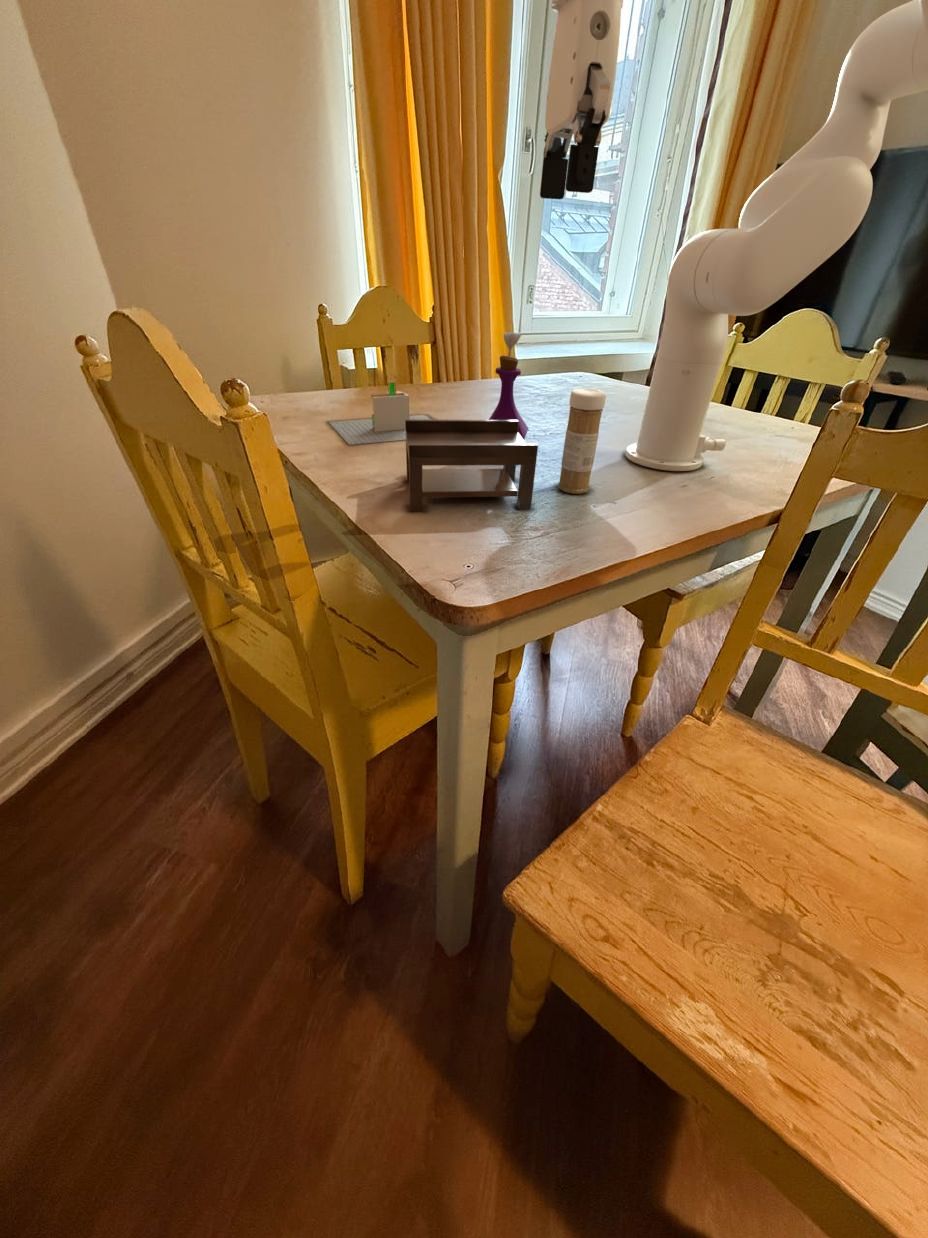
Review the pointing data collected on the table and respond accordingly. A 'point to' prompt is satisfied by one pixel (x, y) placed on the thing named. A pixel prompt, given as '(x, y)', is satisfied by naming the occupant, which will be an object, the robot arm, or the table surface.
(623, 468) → the table surface
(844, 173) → the robot arm
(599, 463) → the table surface
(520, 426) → the perfume bottle
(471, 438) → the rack
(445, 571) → the table surface
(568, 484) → the sprinkles bottle
